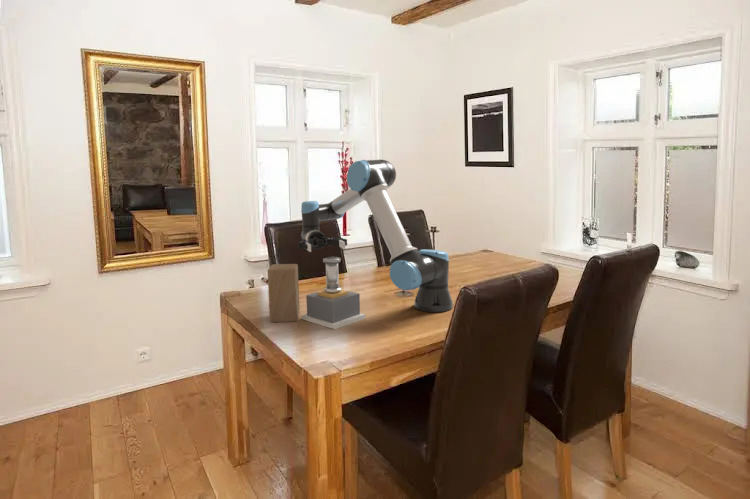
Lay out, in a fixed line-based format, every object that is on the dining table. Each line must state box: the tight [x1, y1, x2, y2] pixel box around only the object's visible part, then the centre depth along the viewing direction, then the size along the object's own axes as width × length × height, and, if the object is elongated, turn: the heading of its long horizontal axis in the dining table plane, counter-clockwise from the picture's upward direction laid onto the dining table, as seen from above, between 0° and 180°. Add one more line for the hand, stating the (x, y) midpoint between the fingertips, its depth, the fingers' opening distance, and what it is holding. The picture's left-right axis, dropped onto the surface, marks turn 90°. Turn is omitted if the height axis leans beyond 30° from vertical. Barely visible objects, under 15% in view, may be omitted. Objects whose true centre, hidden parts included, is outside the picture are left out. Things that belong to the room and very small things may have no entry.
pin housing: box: [301, 288, 367, 330], centre depth 198 cm, size 18×16×10 cm
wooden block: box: [267, 263, 301, 323], centre depth 199 cm, size 10×10×20 cm
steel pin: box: [322, 256, 342, 294], centre depth 197 cm, size 6×6×20 cm
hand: (327, 247), depth 207 cm, fingers open, 13 cm apart
